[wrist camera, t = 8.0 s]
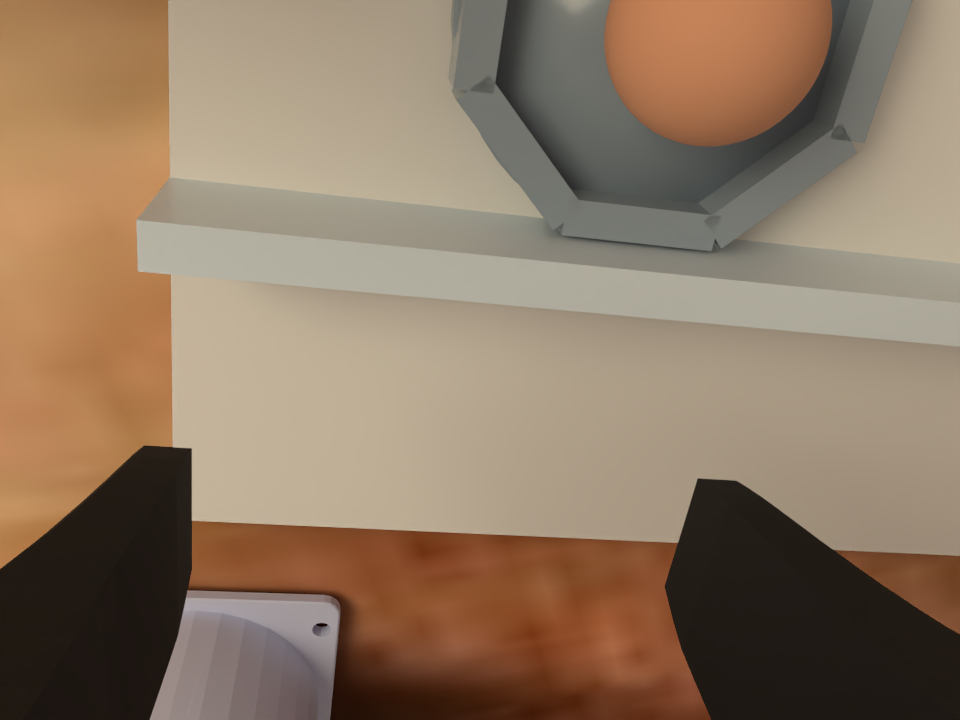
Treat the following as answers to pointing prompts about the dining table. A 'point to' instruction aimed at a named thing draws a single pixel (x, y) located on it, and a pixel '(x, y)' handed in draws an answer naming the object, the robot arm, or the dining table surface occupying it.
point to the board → (537, 318)
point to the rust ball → (715, 63)
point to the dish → (634, 147)
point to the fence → (537, 264)
